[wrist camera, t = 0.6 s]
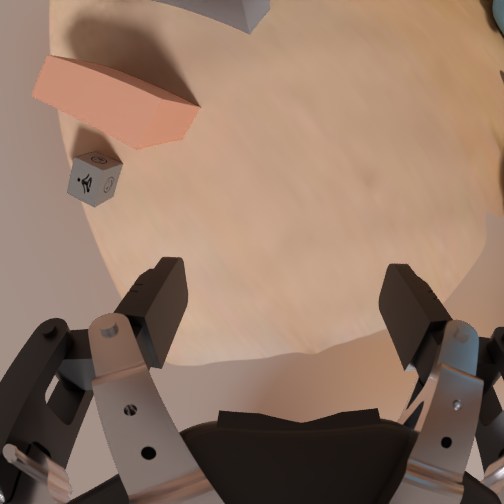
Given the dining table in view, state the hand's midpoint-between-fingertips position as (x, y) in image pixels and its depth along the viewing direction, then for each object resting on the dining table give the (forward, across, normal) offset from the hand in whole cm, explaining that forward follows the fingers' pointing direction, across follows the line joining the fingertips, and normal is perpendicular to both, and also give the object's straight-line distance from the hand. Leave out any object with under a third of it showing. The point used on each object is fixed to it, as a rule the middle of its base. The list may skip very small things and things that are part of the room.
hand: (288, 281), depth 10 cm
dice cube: (+24, -23, 0) cm, 33 cm away
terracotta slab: (+24, -17, +10) cm, 31 cm away
